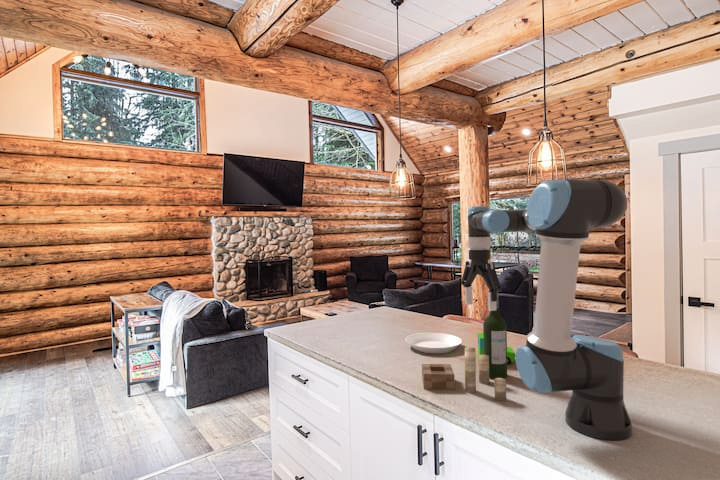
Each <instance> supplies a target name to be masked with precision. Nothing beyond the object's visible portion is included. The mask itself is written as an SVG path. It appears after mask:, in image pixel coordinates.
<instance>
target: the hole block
mask: <svg viewBox="0 0 720 480" xmlns="http://www.w3.org/2000/svg"><path fill="white" fill-rule="evenodd" d="M421 379H422V380H421V381H422V384H423V385H422V386H423V389H424V390H455V388H456V387H455V382H456V381H455V372H454V370H453V368H452V365H451V363H421Z"/></svg>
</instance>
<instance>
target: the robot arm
mask: <svg viewBox="0 0 720 480" xmlns="http://www.w3.org/2000/svg"><path fill="white" fill-rule="evenodd" d="M527 201H528V202H527V205H526V206H527V207H526V209H499V208H497V209H494V208H493V209H490V208H489V206H487V205H475V206H470V207H469V208H468V209H467V229H468V231H467V233H468V237H467V238H468V239H467V241H468V242H467V244H468V245H467V246H468V248H469V249H468V260H467V261H465V264H464V266H465V267H464V271H463V274H462V277H461V281H460V285H462V286H463V287H464V302H465V303H464V305H467V306H468V305H474V304H473V303H474V302H473V283H474V281H475V279H476V277H477V276H481V277H482V278H483V280H484V283H485V284H486V286H487V288H488V294H487V295H488V296H487V297H488V301H487V302H488V311H489V312H490V311H495V310H496V301H497V292H498V293H499V291H502V286H501V283H500V280H499V277H498V274H497V271H496V265H495V263H493V262H492V263H491V262H489V260H490V259H491V249H489V248H491V239H490V238H491V233H492V234H494V233H496V234H497V233H515V232H516V233H522V232H524V233H525V232H526V233H527V232H528V233H535V236H536V237H538V239H539V240H540V241H541V242H540V252H539V253H540V255H539V263H538V265H539V266H538V275H537V276H538V277H537V288H536V300H535V311H534V313H535V314H534V321H533V322H534V323H533V330H532V331H530V332H529V333H528V334H527V335H526V343H525V345H519V346H518V347H517V349H516V352H515V364H516V369H517V372H518V374H519V376H520V378H521V381H522V382H523V384H524V386H526V388H528V389H529V390H530V391H532V392H533V393H546V394H550V393H553V392H554V393H555V392H566V391H567V392H568V391H569V392H570V391H572V392H571V396H570V399H569V401H568V403H567V406H566V409H565V414H564V417H565V423H566V425H568V426H569V427H570V428H571V429H573V430H575V431H576V432H578V433H580V434H582V435H585V436H588V437H592V438H595V439H600V440H607V441H608V440H609V441H619V440H620V441H621V440H625V439H626V440H627V439H628V438H630V437H631V436H632V435H633V425H632V421H631V418H630V415H629V413H628V410H627V407H626V405H625V400H624V369H625V366H624V364H625V360H624V352H623V348H622V346H621V345H620V344H618V343H617V342H614V341H611V340H609V339H605V338H600V337H597V336H590V335H583V334H582V335H581V334H580V335H579V334H576V335H573V336H572V329H573V328H572V327H573V319H574V310H575V300H576V291H577V282H578V281H577V280H578V270H579V264H580V263H579V262H580V260H579V259H580V251H581V245H582V243H584V242H585V241H586V240H588V239H589V237H590V229H594V228H605V227H608V226H613V225H614V224H615V223H617V222H618V221H620V220H621V219H622V218H623V217H624V215H625V214H626V212H627V208H628V197H627V195H626V193H625V191H624V189H622V188H621V186H619V185H617V184H616V183H614V182H612V181H610V180H605V179H563V178H562V179H552V180H545V181H543V182H541V183H539V184H538V185H537V186H536V187H535V188H534V189H533V191H532V192H531V194H530V196H529V198H528V200H527ZM469 260H470V261H469Z"/></svg>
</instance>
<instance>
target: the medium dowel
mask: <svg viewBox="0 0 720 480" xmlns="http://www.w3.org/2000/svg"><path fill="white" fill-rule="evenodd" d="M478 383H480V384H483V385H487V384H489V383H490V378H489V356H488V355H478Z"/></svg>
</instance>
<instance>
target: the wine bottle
mask: <svg viewBox="0 0 720 480" xmlns="http://www.w3.org/2000/svg"><path fill="white" fill-rule="evenodd" d="M499 303H500V302H499V291H498V292H497V301H496V310H495V311H489V315H488V316H487V317H486V318H485V319H484V321H483V322H482V323H483V324H482V326H483V327H482V328H483V336H484V355H488V356H489V379H491V380H492V379H493V380H494V379H495V378H503V379H505V380H506V379H507V377H508V365H507V347H508V345H507V344H508V342H507V329H508V328H507V325H508V324H507V323H506V320H505V319H504V318H503V317H501V315H500V308H499V307H500V306H499V305H500V304H499Z"/></svg>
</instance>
